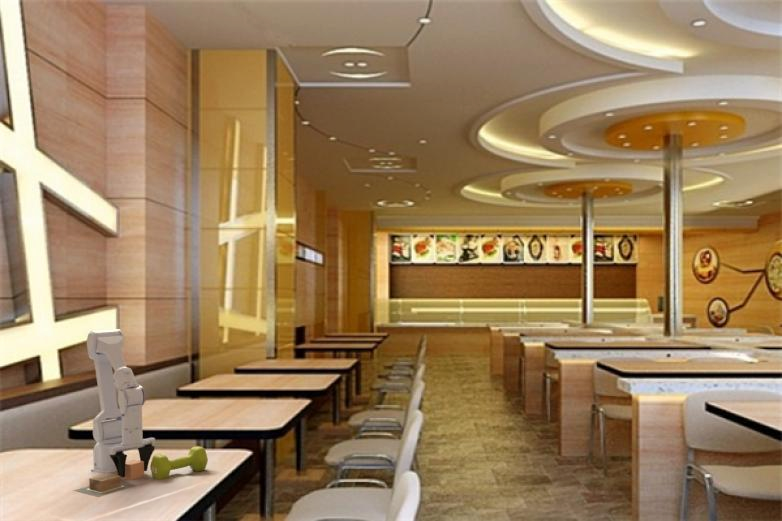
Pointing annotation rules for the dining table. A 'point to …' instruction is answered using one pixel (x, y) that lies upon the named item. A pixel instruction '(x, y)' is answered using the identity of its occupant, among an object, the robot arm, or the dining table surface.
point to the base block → (105, 482)
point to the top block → (134, 469)
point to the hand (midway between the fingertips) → (132, 473)
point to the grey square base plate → (98, 494)
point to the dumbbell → (178, 463)
